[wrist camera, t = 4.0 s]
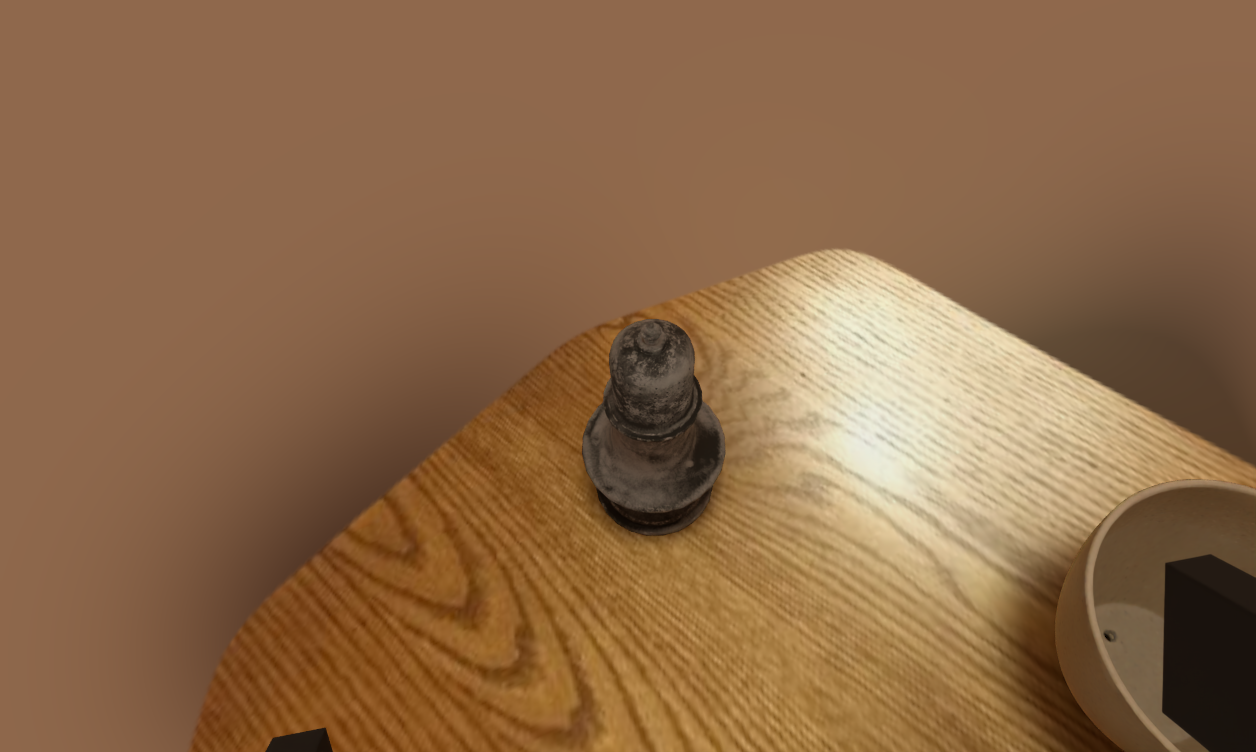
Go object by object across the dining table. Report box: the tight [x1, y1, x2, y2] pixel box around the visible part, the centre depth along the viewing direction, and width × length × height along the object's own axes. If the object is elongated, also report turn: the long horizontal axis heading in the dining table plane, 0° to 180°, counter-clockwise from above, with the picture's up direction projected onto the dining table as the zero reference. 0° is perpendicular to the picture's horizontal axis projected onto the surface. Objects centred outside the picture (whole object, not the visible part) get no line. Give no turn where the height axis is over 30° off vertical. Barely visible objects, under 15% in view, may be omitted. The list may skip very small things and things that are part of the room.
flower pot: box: [1055, 479, 1256, 752], centre depth 25 cm, size 10×10×7 cm
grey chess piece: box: [582, 319, 725, 535], centre depth 28 cm, size 6×6×12 cm
